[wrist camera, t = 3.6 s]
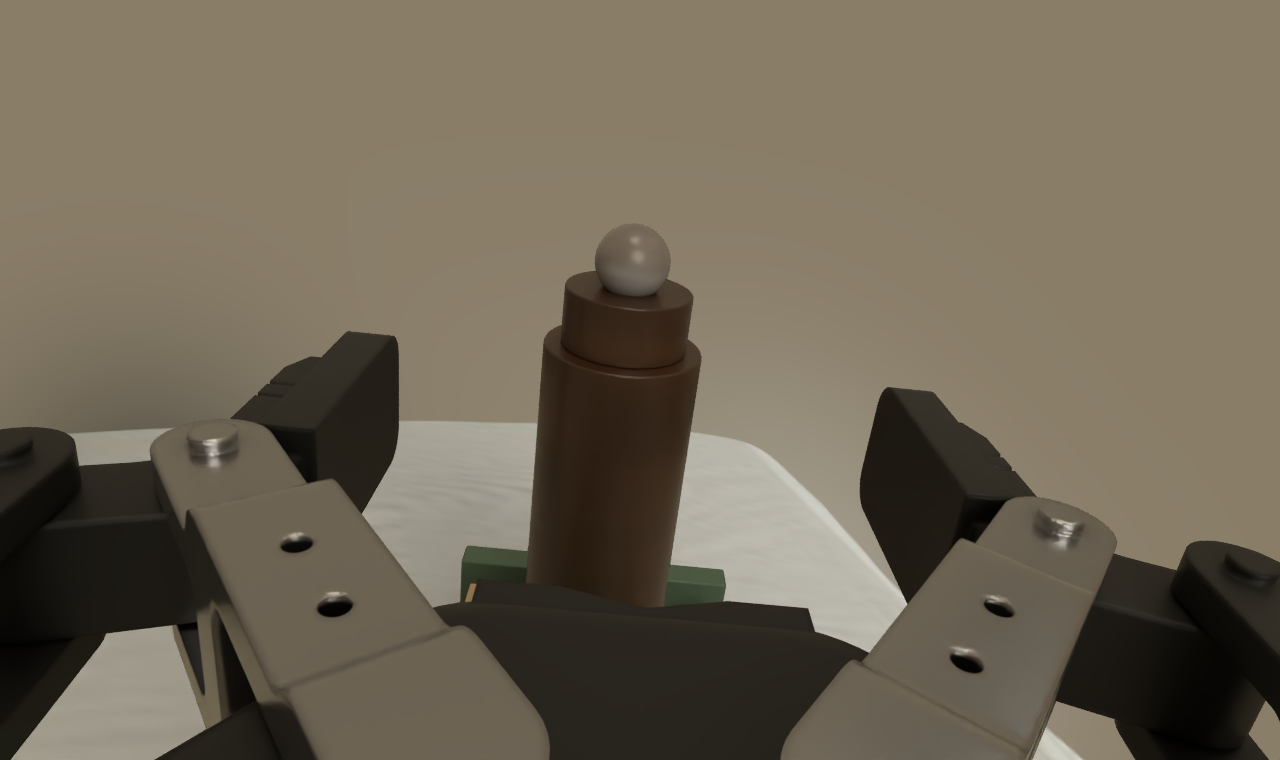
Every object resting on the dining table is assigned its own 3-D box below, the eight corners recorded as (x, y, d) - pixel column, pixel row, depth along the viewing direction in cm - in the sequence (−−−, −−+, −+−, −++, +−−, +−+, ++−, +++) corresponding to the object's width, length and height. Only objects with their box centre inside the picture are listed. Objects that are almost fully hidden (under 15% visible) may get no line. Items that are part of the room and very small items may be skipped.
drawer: (478, 608, 42) (483, 494, 40) (696, 628, 43) (715, 516, 40) (378, 967, 26) (376, 815, 24) (731, 992, 27) (767, 846, 24)
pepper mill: (486, 770, 32) (518, 210, 24) (581, 712, 35) (639, 202, 27) (565, 860, 29) (634, 253, 21) (661, 787, 32) (754, 238, 24)
